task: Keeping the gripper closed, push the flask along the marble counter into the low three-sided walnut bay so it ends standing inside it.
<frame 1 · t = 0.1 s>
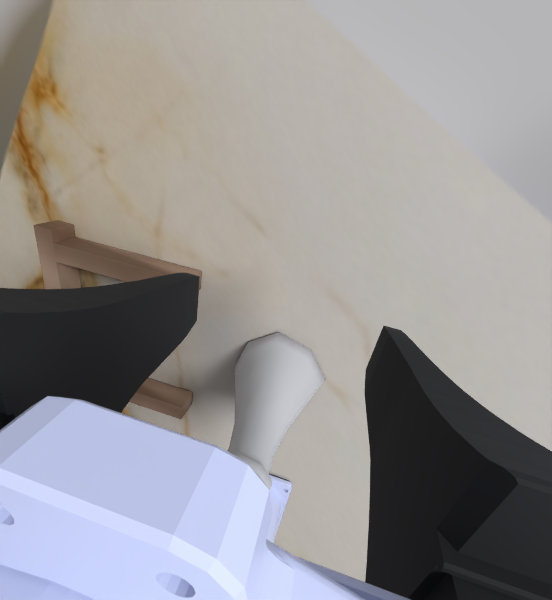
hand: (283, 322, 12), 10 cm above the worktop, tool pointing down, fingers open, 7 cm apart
walnut bay: (138, 328, 27), on the worktop
flask: (280, 368, 25), on the worktop
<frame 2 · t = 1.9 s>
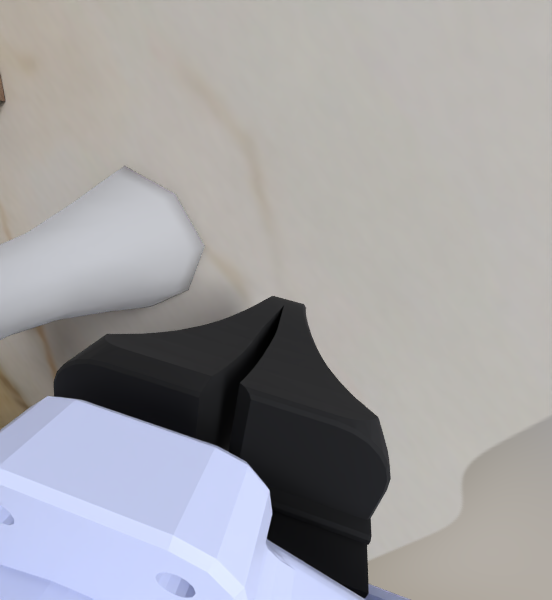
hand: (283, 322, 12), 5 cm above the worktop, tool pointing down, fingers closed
flask: (145, 240, 17), on the worktop
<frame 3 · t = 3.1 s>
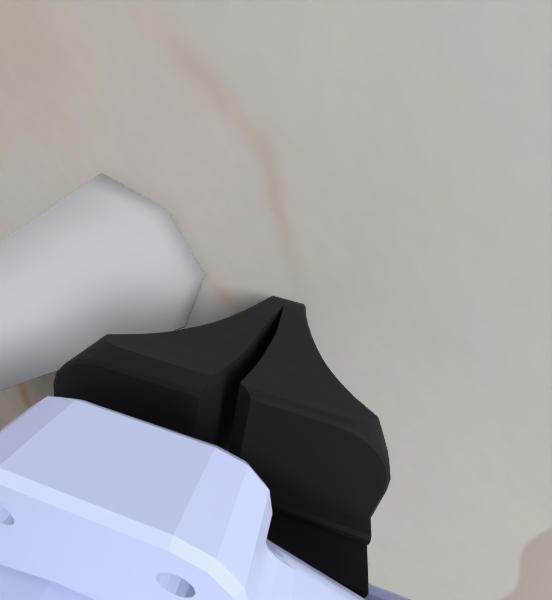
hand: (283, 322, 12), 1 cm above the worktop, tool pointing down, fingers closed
flask: (130, 265, 14), on the worktop
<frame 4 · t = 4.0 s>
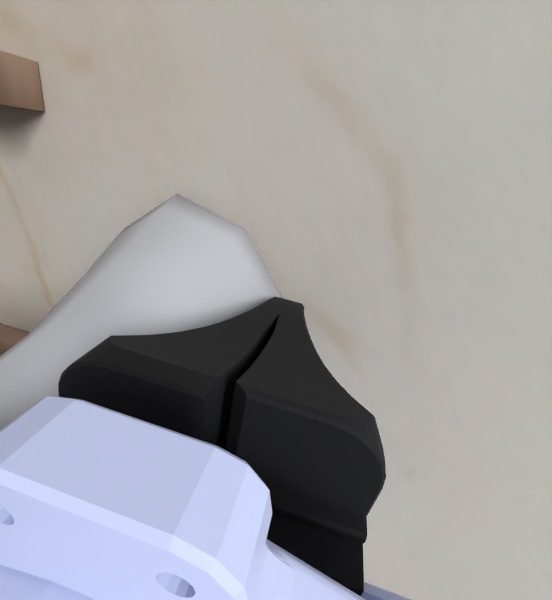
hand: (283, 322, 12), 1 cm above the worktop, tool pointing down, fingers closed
flask: (197, 285, 13), on the worktop, touching gripper
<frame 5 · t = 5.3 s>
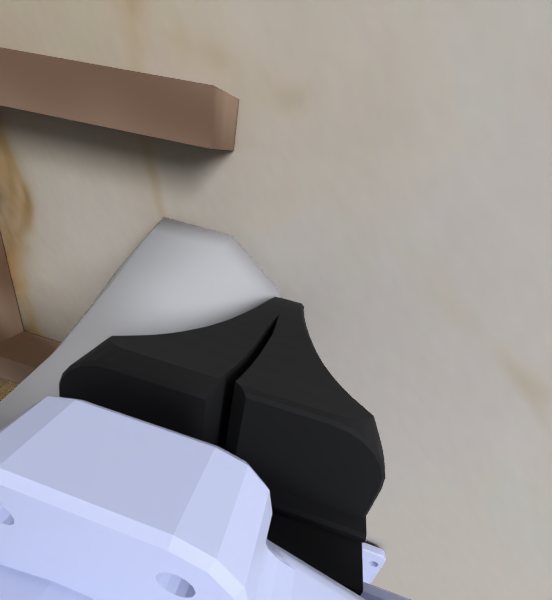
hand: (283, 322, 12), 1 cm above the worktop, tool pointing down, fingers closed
walnut bay: (104, 261, 14), on the worktop
flask: (202, 301, 13), on the worktop, touching gripper
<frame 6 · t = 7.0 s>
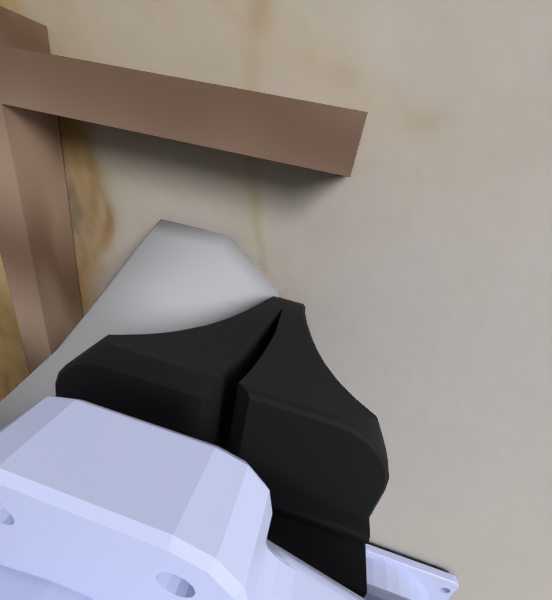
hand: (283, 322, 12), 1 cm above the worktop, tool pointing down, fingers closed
walnut bay: (186, 283, 13), on the worktop
flask: (201, 302, 14), on the worktop, touching gripper
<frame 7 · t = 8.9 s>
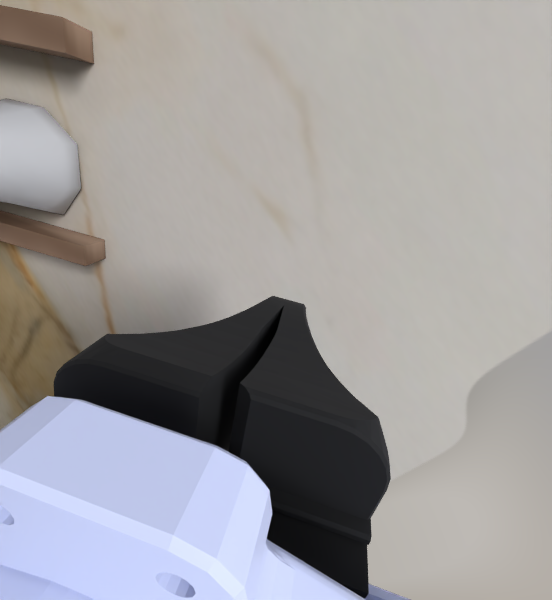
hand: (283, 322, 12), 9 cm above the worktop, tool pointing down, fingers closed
walnut bay: (30, 144, 21), on the worktop
flask: (43, 160, 22), on the worktop
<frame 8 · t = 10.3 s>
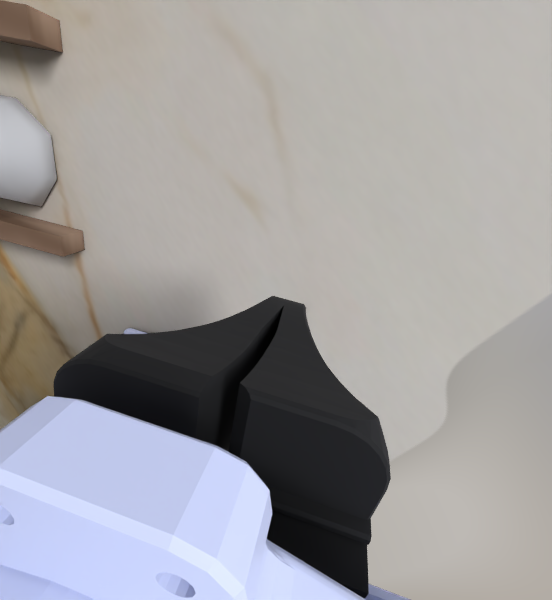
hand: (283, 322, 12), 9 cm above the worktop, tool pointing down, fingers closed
walnut bay: (5, 136, 21), on the worktop
flask: (19, 152, 22), on the worktop
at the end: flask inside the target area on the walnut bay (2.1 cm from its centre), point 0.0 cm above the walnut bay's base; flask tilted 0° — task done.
